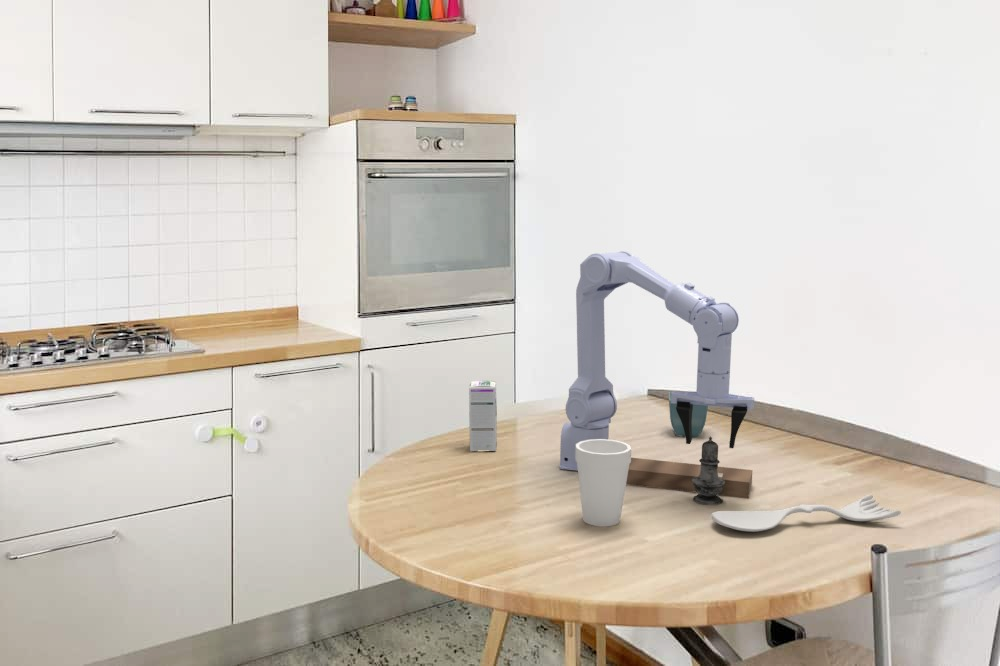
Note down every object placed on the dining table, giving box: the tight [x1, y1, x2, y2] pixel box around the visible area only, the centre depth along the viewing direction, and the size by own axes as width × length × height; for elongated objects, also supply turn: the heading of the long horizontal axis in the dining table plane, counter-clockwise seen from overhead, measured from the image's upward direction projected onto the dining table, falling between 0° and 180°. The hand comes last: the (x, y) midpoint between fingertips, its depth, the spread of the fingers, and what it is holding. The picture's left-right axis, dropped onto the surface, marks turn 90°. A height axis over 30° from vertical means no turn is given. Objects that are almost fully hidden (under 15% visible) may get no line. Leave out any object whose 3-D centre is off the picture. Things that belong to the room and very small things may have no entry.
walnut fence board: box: [626, 457, 753, 499], centre depth 180 cm, size 24×8×3 cm, turn 71°
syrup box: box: [468, 380, 498, 452], centre depth 202 cm, size 6×6×14 cm
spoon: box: [711, 494, 902, 533], centre depth 160 cm, size 9×32×4 cm, turn 102°
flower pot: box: [668, 391, 709, 438], centre depth 216 cm, size 9×9×9 cm
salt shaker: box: [692, 436, 725, 506], centre depth 171 cm, size 6×6×12 cm
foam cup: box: [575, 439, 632, 528], centre depth 160 cm, size 10×9×13 cm
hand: (710, 444), depth 170 cm, fingers open, 7 cm apart
